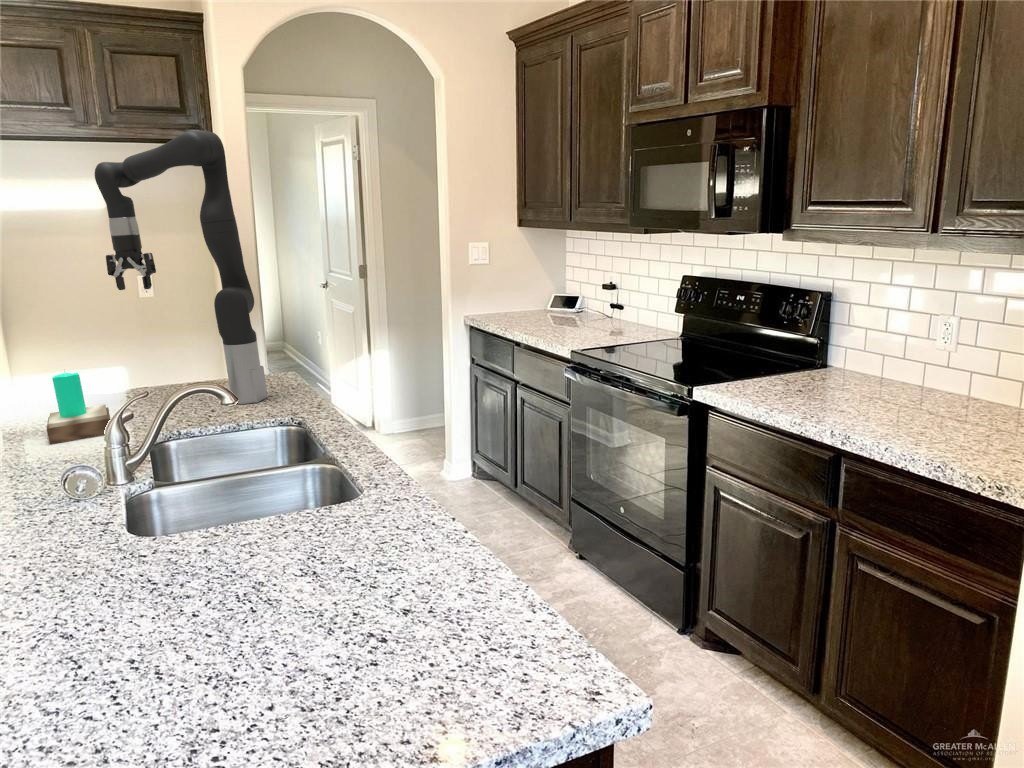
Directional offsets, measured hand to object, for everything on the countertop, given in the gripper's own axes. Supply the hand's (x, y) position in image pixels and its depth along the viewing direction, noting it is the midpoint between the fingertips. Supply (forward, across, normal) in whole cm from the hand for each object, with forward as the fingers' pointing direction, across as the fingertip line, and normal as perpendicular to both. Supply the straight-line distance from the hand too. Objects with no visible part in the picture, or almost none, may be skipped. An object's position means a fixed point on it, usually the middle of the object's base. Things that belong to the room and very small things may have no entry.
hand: (134, 289), depth 223 cm
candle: (+28, +3, -35) cm, 45 cm away
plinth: (+33, +4, -35) cm, 48 cm away
